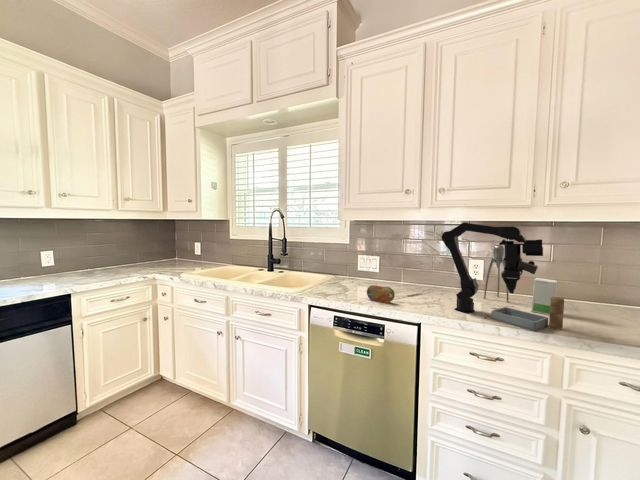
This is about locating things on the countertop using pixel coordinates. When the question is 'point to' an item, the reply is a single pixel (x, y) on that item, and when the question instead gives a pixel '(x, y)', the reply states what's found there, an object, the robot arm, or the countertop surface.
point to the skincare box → (543, 295)
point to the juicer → (498, 260)
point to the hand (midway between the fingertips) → (512, 291)
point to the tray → (520, 318)
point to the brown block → (556, 313)
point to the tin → (380, 293)
